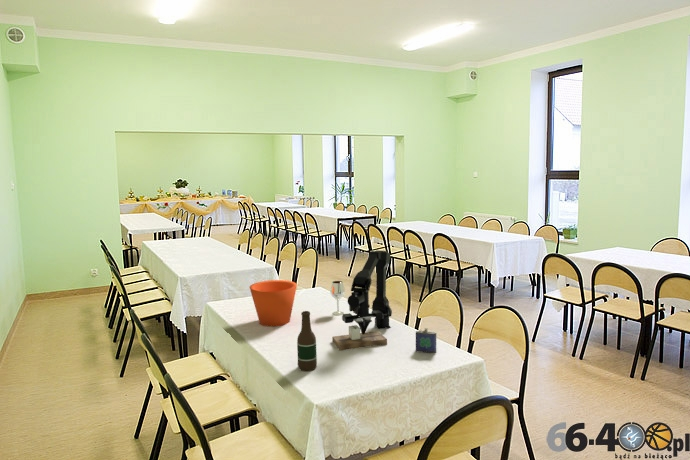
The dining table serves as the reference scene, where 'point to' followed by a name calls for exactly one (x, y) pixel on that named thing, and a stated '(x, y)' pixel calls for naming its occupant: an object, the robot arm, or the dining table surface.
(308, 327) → the beer bottle
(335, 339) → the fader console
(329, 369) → the dining table surface
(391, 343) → the dining table surface
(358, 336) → the fader knob
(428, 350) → the flask
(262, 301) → the flowerpot
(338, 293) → the wineglass
